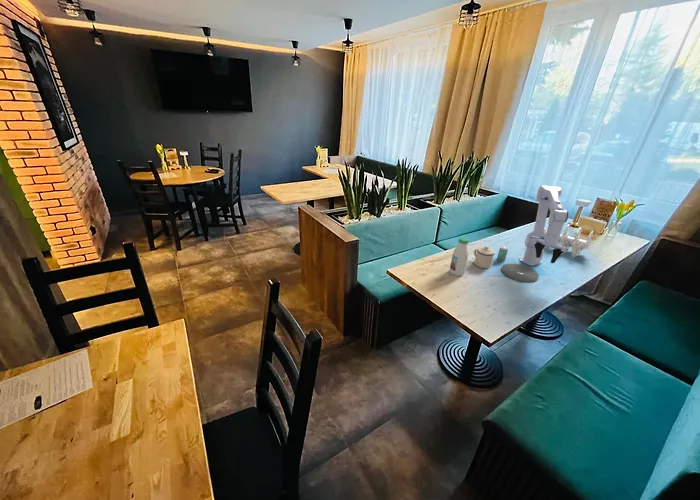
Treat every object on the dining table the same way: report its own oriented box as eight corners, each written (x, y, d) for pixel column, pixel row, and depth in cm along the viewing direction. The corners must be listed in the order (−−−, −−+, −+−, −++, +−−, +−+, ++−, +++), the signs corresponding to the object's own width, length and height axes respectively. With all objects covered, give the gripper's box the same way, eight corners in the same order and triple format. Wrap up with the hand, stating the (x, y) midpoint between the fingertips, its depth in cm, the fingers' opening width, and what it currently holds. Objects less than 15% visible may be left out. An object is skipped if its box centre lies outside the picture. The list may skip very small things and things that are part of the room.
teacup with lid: (494, 267, 165) (499, 248, 159) (482, 270, 161) (487, 251, 156) (478, 257, 174) (482, 240, 169) (466, 260, 171) (470, 242, 166)
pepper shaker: (500, 257, 175) (503, 245, 172) (506, 260, 172) (510, 248, 168) (495, 258, 174) (498, 246, 170) (501, 262, 170) (504, 250, 166)
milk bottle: (464, 270, 160) (471, 237, 151) (464, 277, 154) (472, 243, 145) (449, 268, 163) (456, 235, 154) (448, 274, 156) (455, 241, 147)
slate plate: (516, 262, 170) (517, 261, 169) (545, 278, 155) (546, 276, 155) (493, 268, 163) (494, 266, 163) (521, 285, 149) (522, 283, 148)
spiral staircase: (540, 248, 197) (585, 261, 179) (533, 243, 185) (580, 257, 167) (552, 222, 195) (598, 233, 177) (545, 216, 183) (594, 227, 165)
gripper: (533, 230, 148) (526, 255, 152) (562, 239, 135) (554, 266, 139) (542, 230, 150) (535, 254, 155) (572, 238, 138) (563, 264, 142)
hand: (545, 260), depth 147 cm, fingers open, 7 cm apart
